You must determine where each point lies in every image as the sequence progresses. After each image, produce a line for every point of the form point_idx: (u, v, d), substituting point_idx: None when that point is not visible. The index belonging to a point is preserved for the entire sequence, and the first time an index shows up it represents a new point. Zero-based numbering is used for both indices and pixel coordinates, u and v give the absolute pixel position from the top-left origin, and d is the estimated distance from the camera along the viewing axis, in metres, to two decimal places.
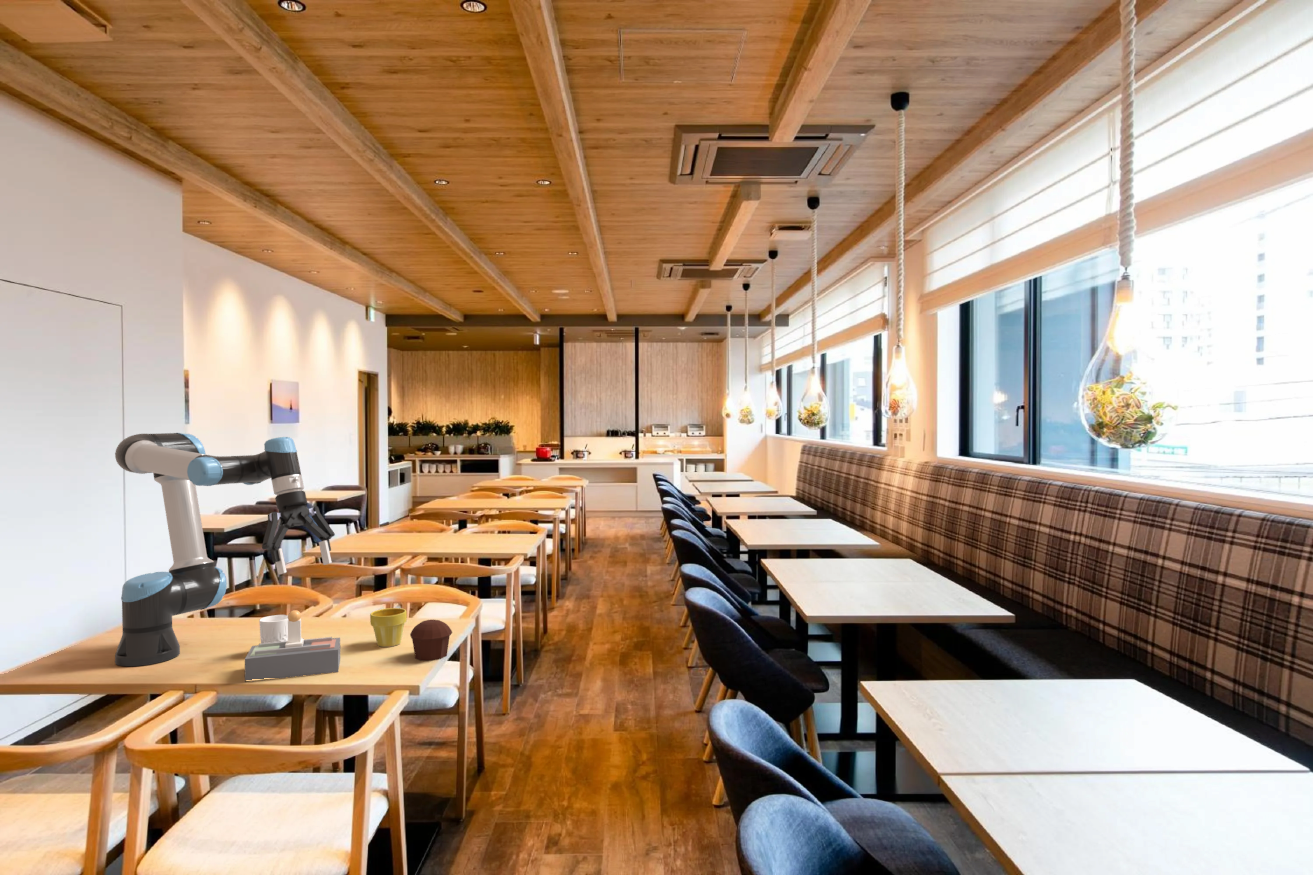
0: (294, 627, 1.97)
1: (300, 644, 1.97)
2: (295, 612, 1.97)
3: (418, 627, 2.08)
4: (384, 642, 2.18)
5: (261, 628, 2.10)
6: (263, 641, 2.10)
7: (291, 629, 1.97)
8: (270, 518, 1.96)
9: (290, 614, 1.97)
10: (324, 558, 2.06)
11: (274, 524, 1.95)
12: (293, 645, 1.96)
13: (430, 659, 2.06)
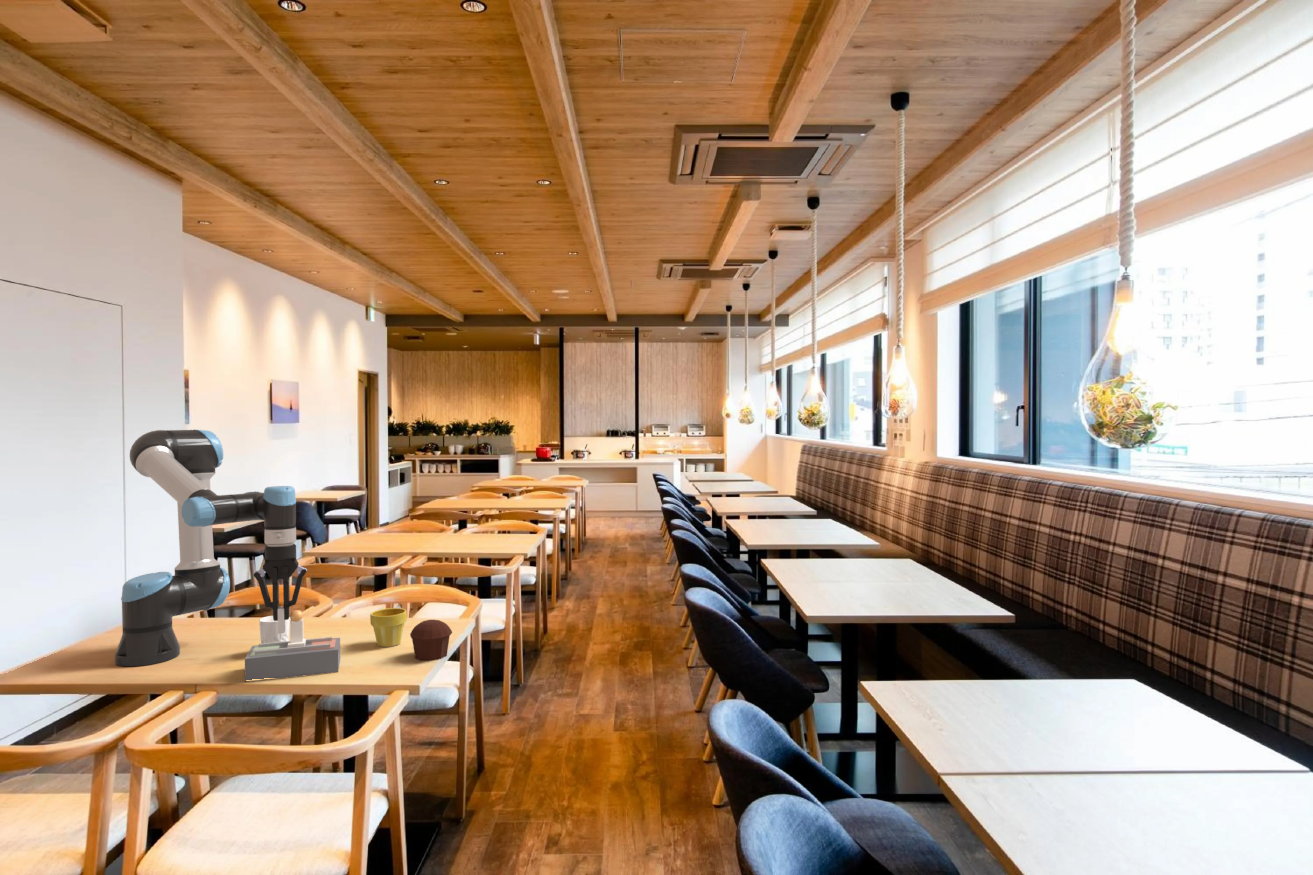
0: (296, 627, 1.98)
1: (302, 644, 1.97)
2: (297, 612, 1.98)
3: (418, 627, 2.08)
4: (384, 642, 2.18)
5: (261, 628, 2.10)
6: (263, 641, 2.10)
7: (294, 629, 1.97)
8: None
9: (292, 614, 1.97)
10: None
11: (261, 584, 1.94)
12: (295, 645, 1.96)
13: (430, 659, 2.06)
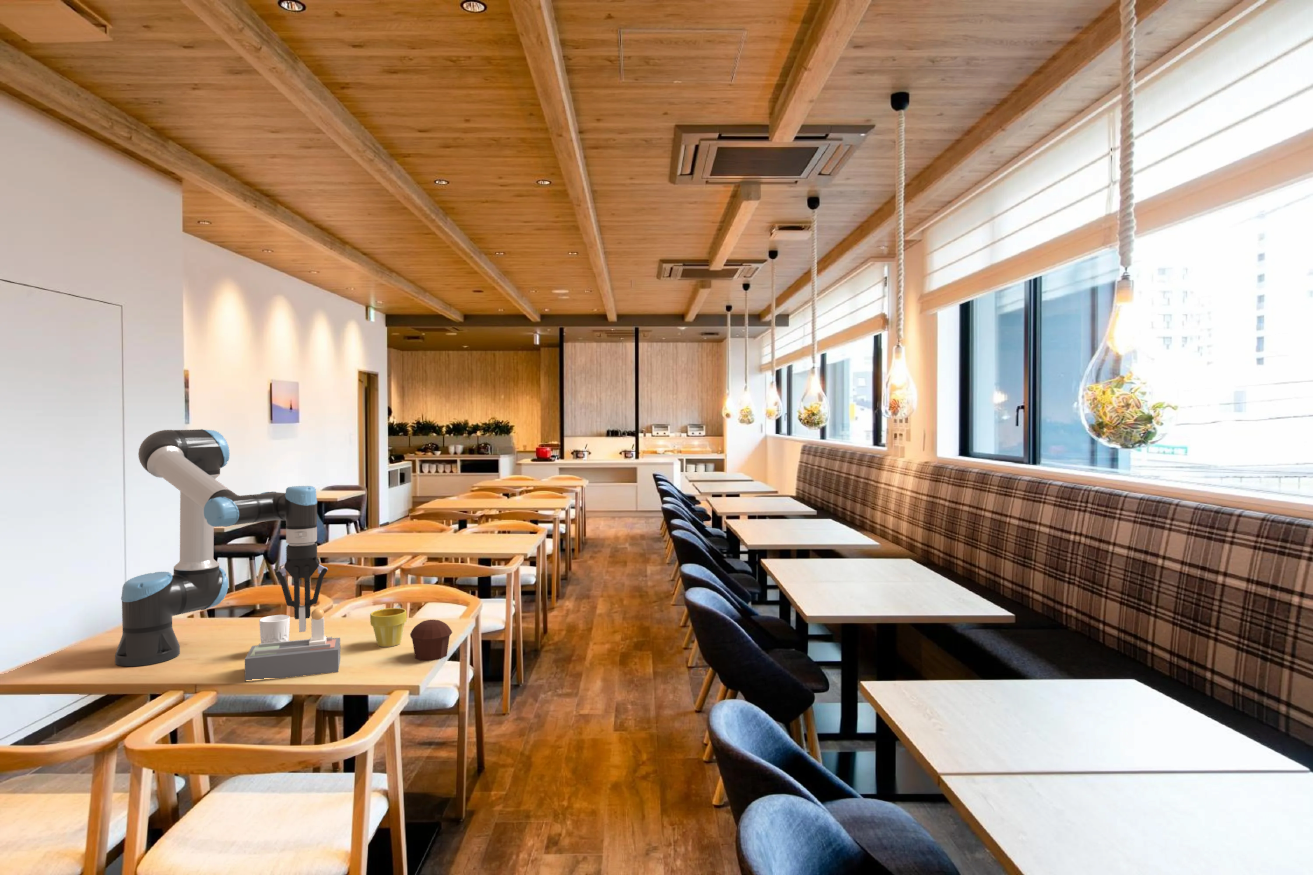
0: (317, 625, 1.99)
1: (323, 642, 1.99)
2: (318, 610, 1.99)
3: (418, 627, 2.08)
4: (384, 642, 2.18)
5: (261, 628, 2.10)
6: (263, 641, 2.10)
7: (315, 627, 1.99)
8: None
9: (314, 612, 1.99)
10: None
11: (282, 583, 1.96)
12: (317, 643, 1.98)
13: (430, 659, 2.06)
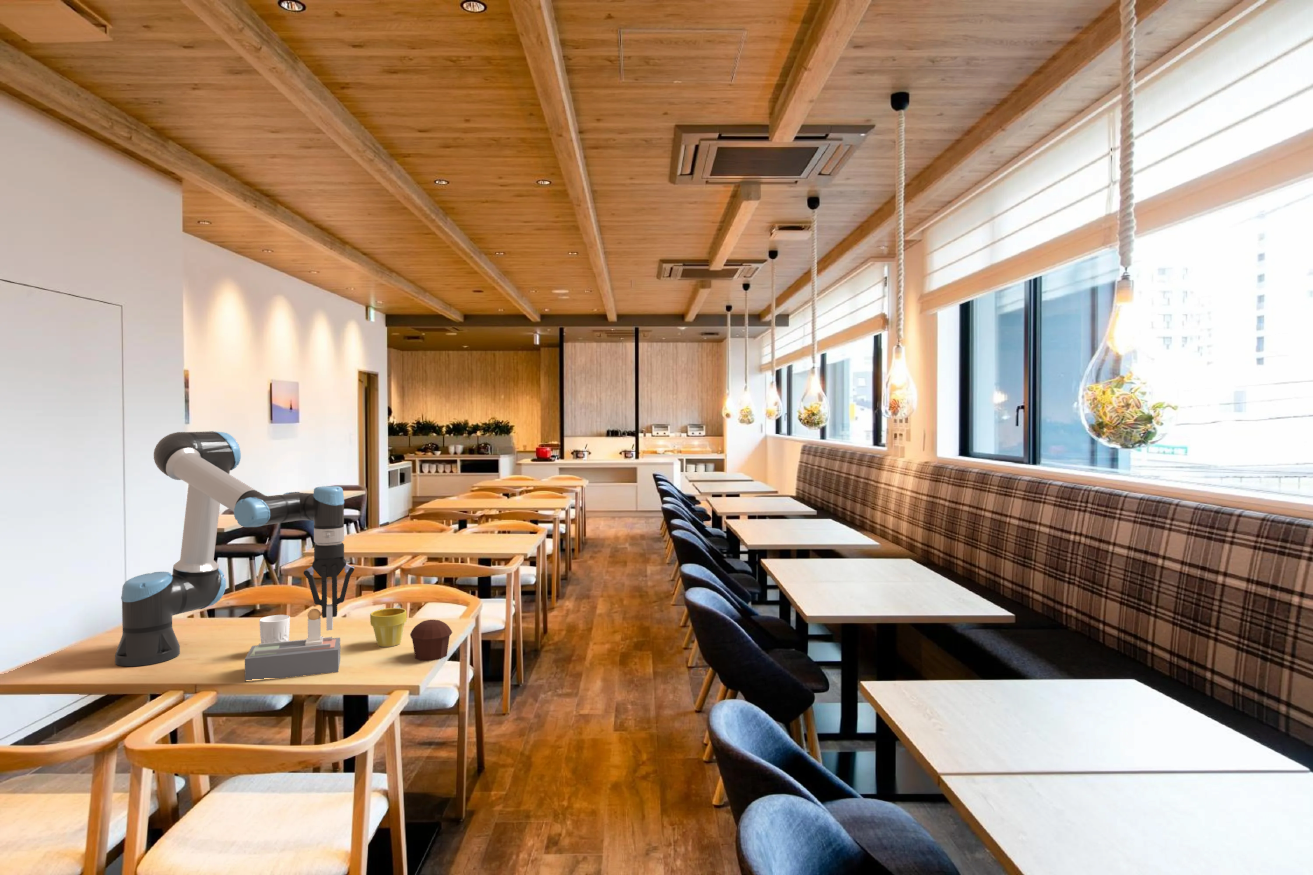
0: (314, 625, 1.99)
1: (320, 642, 1.98)
2: (315, 610, 1.99)
3: (418, 627, 2.08)
4: (384, 642, 2.18)
5: (261, 628, 2.10)
6: (263, 641, 2.10)
7: (311, 628, 1.99)
8: None
9: (310, 612, 1.99)
10: None
11: (310, 582, 1.98)
12: (313, 643, 1.98)
13: (430, 659, 2.06)
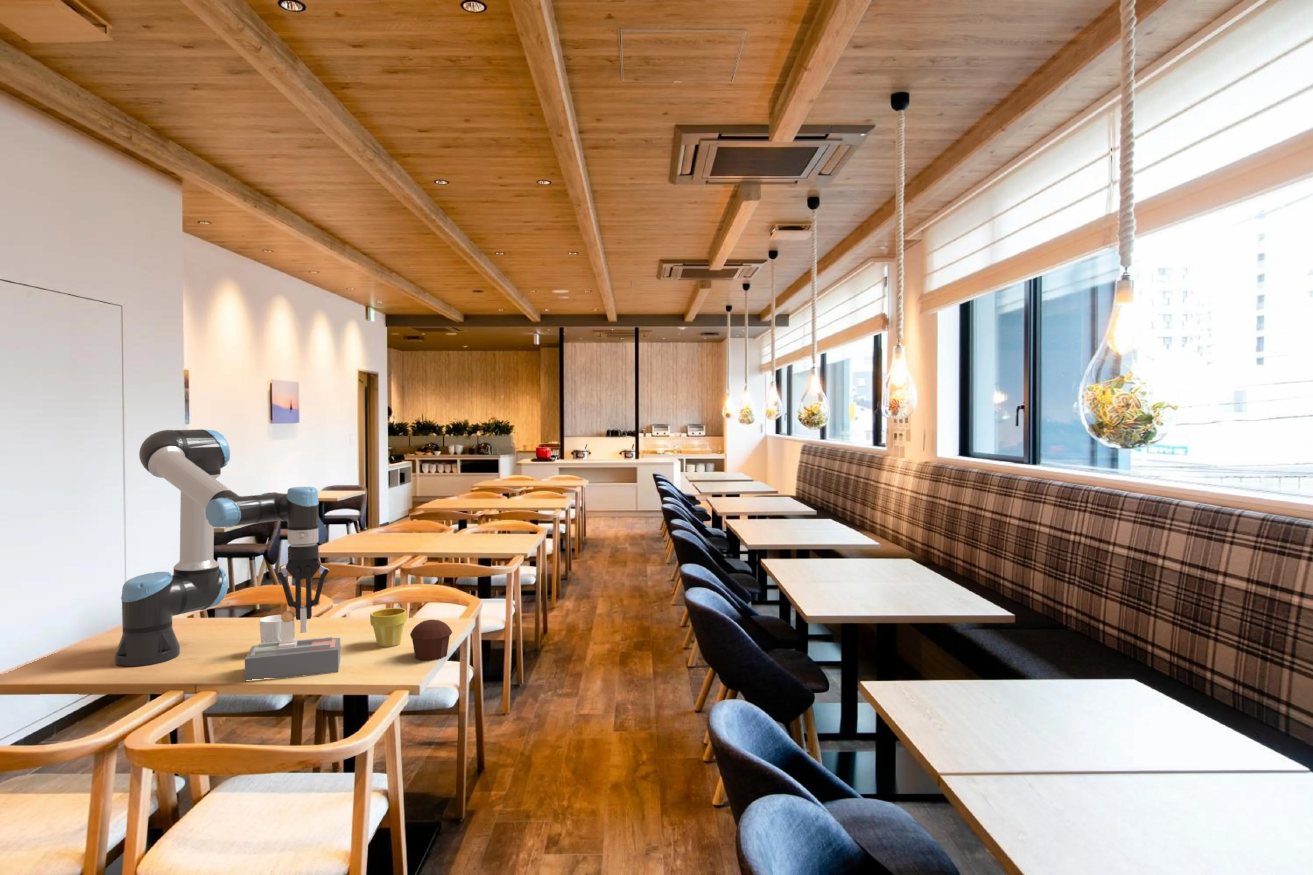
0: (287, 628, 1.97)
1: (293, 645, 1.96)
2: (288, 613, 1.97)
3: (418, 627, 2.08)
4: (384, 642, 2.18)
5: (261, 628, 2.10)
6: (263, 641, 2.10)
7: (285, 630, 1.97)
8: None
9: (283, 615, 1.96)
10: None
11: (284, 583, 1.96)
12: (286, 646, 1.95)
13: (430, 659, 2.06)
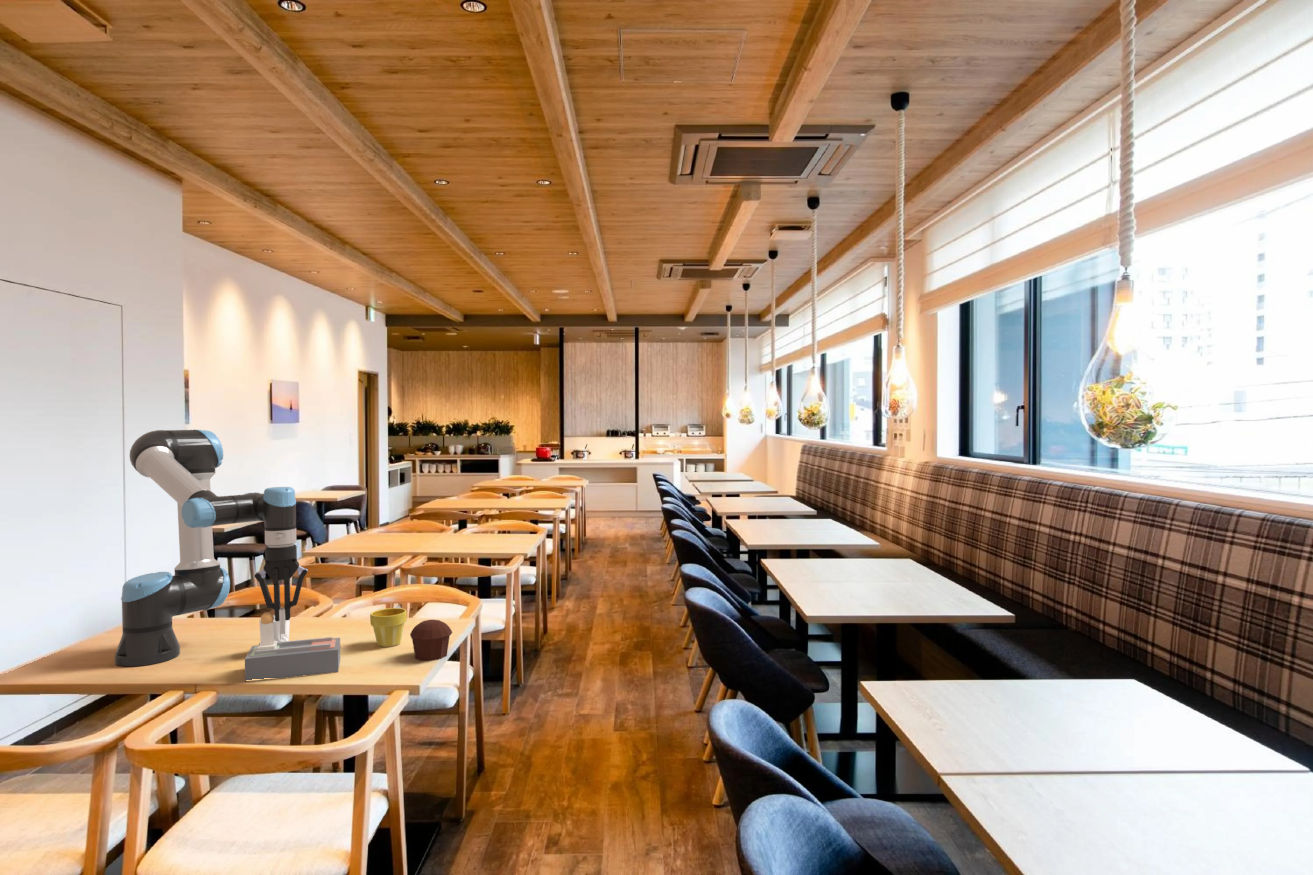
0: (267, 629, 1.95)
1: (273, 647, 1.94)
2: (268, 614, 1.95)
3: (418, 627, 2.08)
4: (384, 642, 2.18)
5: None
6: None
7: (264, 632, 1.95)
8: None
9: (263, 616, 1.95)
10: None
11: (262, 585, 1.94)
12: (265, 648, 1.94)
13: (430, 659, 2.06)
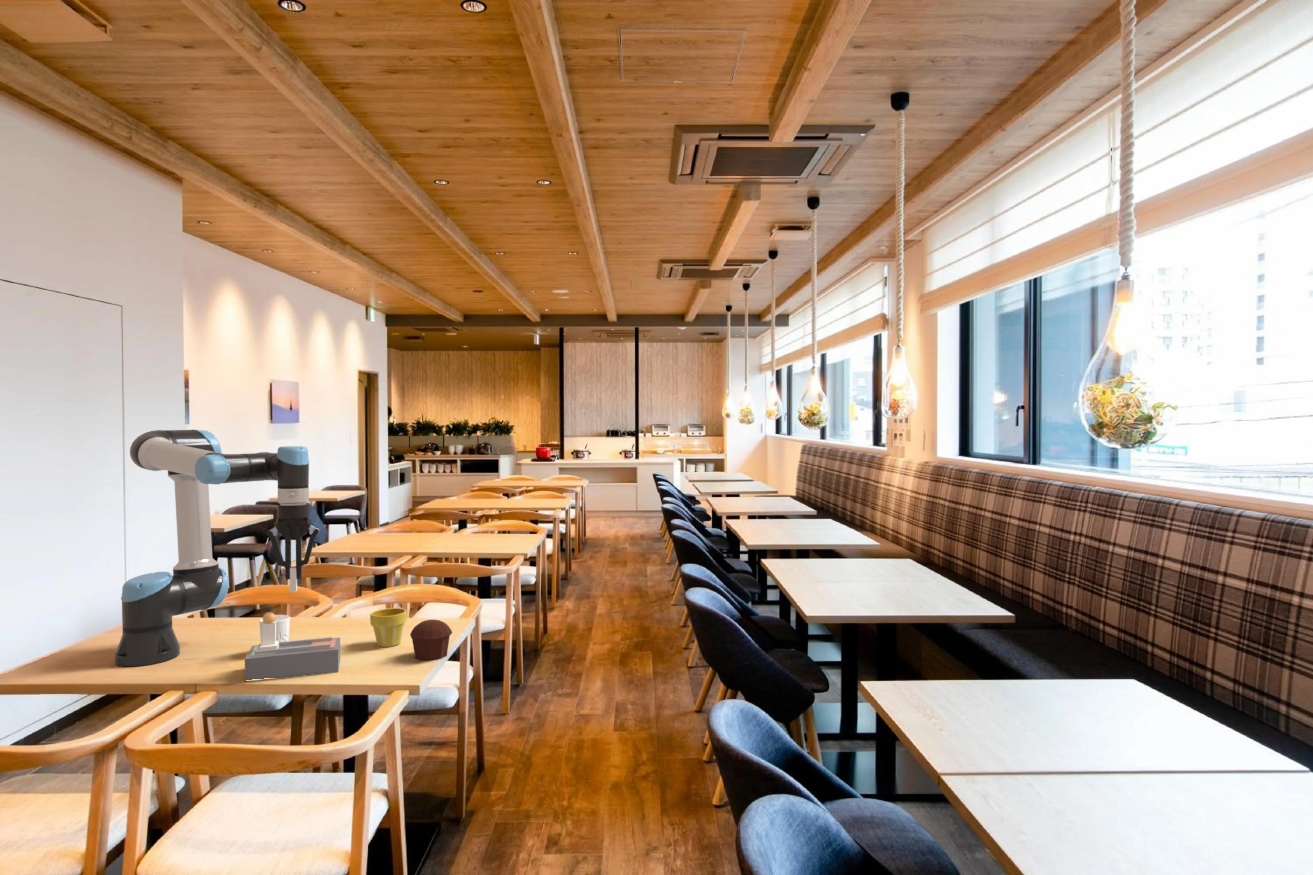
0: (269, 629, 1.95)
1: (275, 646, 1.94)
2: (270, 614, 1.95)
3: (418, 627, 2.08)
4: (384, 642, 2.18)
5: (261, 628, 2.10)
6: None
7: (266, 632, 1.95)
8: None
9: (265, 616, 1.95)
10: None
11: (274, 542, 1.95)
12: (267, 647, 1.94)
13: (430, 659, 2.06)
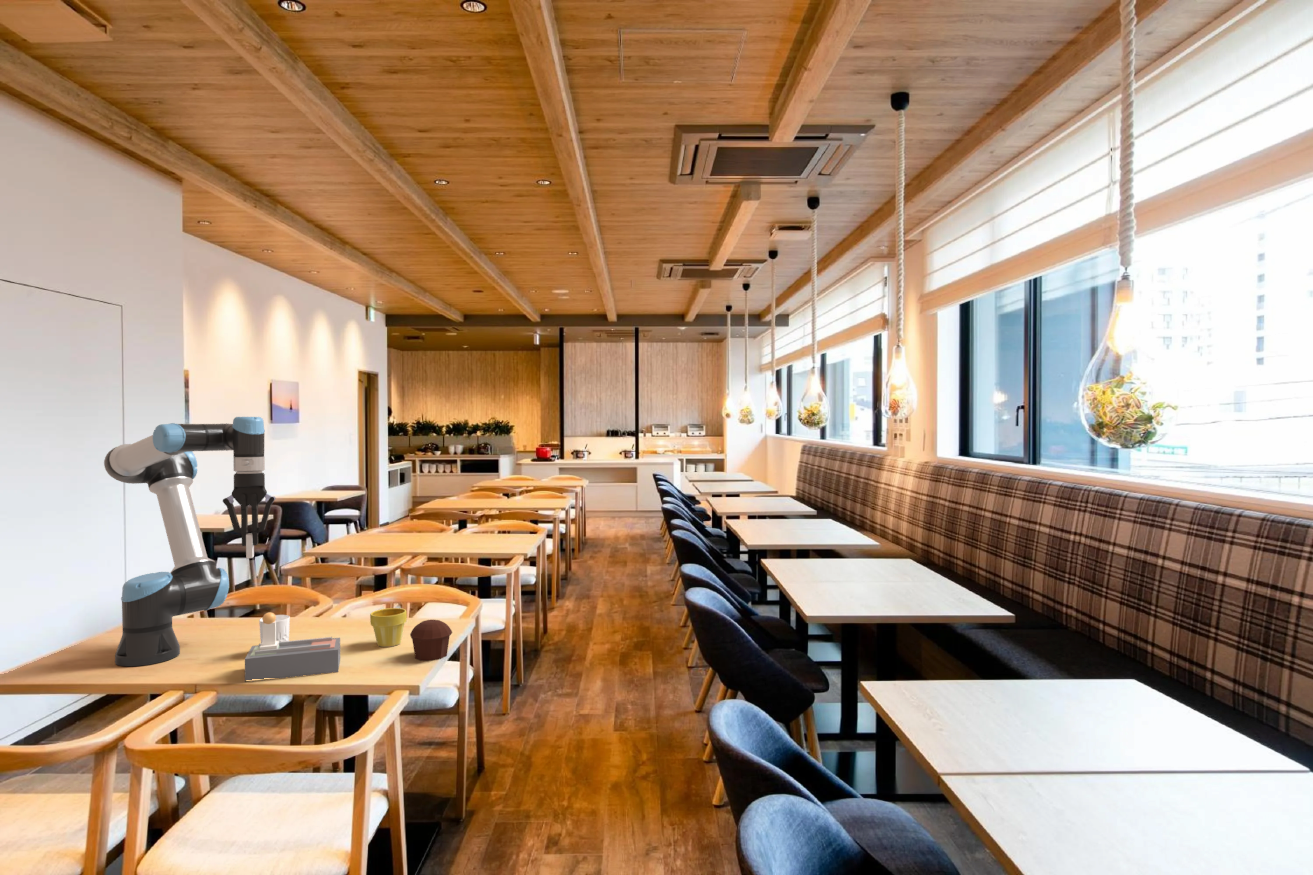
0: (269, 629, 1.95)
1: (275, 646, 1.94)
2: (270, 614, 1.95)
3: (418, 627, 2.08)
4: (384, 642, 2.18)
5: (261, 628, 2.10)
6: None
7: (266, 632, 1.95)
8: None
9: (265, 616, 1.95)
10: None
11: (230, 510, 2.01)
12: (267, 647, 1.94)
13: (430, 659, 2.06)
